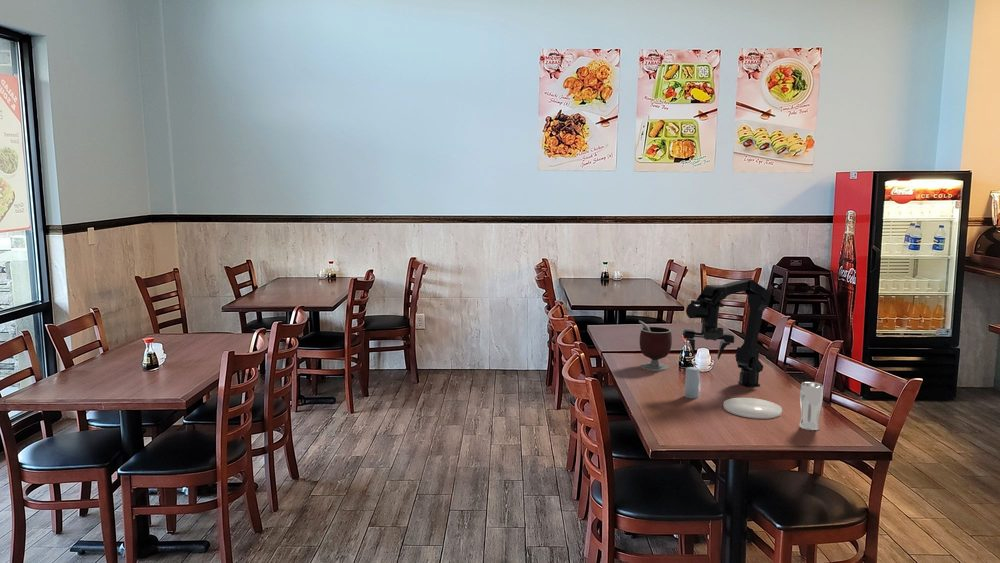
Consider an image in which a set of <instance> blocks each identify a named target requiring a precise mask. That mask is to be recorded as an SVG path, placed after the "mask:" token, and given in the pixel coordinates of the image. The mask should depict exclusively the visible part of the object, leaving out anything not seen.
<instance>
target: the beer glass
mask: <svg viewBox="0 0 1000 563" xmlns="http://www.w3.org/2000/svg"><path fill="white" fill-rule="evenodd" d="M823 398H824V385H823V384H822V383H819V382H815V381H803V382H801V386H800V392H799V404H800V406H799V407H800V414H801V416H800V417H801V418H800V421H799V426H798V427H799V428H800V427H801V428H800V429H802V430H806V431H810V430H812V431H813V430H816V431H818V430H819V429H820V425H819V417H820V412H821V409H822V405H823Z"/></svg>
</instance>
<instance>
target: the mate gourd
mask: <svg viewBox="0 0 1000 563" xmlns="http://www.w3.org/2000/svg"><path fill="white" fill-rule="evenodd" d="M638 323H640V324H641V325H642V326H643V327H641V329H640V335H639V348H640V351H641V353H642V355H644V357H646V358H648V359H650V360H651V361H649V362H643V363H641V364H640V368H641V369H643V370H645V369H647V370H646V371H650V370H653V371H652V372H663V370H665V371H667V369H668V370H669V369H670V368H669V367H670V366H669V365H668V364H666V363H663V362H659V360H661V359H664V358H666V357H668V355H669V354H670V352H671V349H672V344H673V337H672V336H673V335H672V329H670V328H667V327H662V326H649V325H648V324H647V323H645V322H643V321H642V320H638Z"/></svg>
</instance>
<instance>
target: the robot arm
mask: <svg viewBox="0 0 1000 563" xmlns="http://www.w3.org/2000/svg"><path fill="white" fill-rule="evenodd" d="M741 292H744V294H745V295H746V296H747V304H748V307H749V314H748V318H747V323H746V324H747V325H746V328H745V334H744V338H743V339H744V340H743V344H742V345H741V346H740V347H739V346H738V347H737V348H736V352H735V361H736V364H737V368H738V369H740V372H739V380H737V381H738V383H739V384H741V385H743V386H744V387H760V386H761V384H760V383H759V379H760V373H761V372H763V369H764V365H763V363H762V362H761V361H760V360H759V359H760V356H759V355H760V353H759V350H758V347H757V345H758V340H759V334H760V329H761V324H762V319H763V314H764V311H765V310H766V309H767V308H768V306H769V304H770V302H771V298H772V293H771V292H770V291H769V290H768V289H766V288H765V287H764V286H762V285H760V284H759V283H757V282H756V280H754V279H751V278H742V279H740V280H735V281H733V282H728V283H725V284H724V283H723V284H707V285H705V286H704V288H703V290H702V291H701V292H700V294H699V296H698V297H697V298H696V299H695V300H694V299H693V300H691V301H690V303H689V304H687V307H686V308H685V313H686V315H687V317H688V318H689V319H702V321H701V328H700V332H696V331H695V329H688V328H685V329H683V331H682V337H683V339H686V340H687V341H689V343H690V347H691V352H692V356H693V357H694V358H695V354H696V353H695V352H696V345H695V344H696V340H695V338H700V339H701V338H702V339H704V340H706V341H709V340H710V341H714V342H715V341H718V340H720V341H719V346H718V352H717V360H720V359H721V356H722V354H723V351H724V350H725V349H726V347H727V346H729V345H731V344H734V343H735V336H734V335H733V334H732V333H728V332H727V333H726V332H724V327H718V323H719V322H718V321H719V315H720V314H719V313H720V308H724V307H725V306H724V304H723V303H722V301H724V300H725V299H727V297H729V296H731V295H734V294H738V293H741Z"/></svg>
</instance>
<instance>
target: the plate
mask: <svg viewBox="0 0 1000 563" xmlns="http://www.w3.org/2000/svg"><path fill="white" fill-rule="evenodd" d="M722 407H723V409H724V410H725V411H726V412H728V413H730V414H733V415H736V416H740V417H743V418H748V419H757V420H758V419H761V420H762V419H763V420H764V419H765V420H767V419H769V420H770V419H774V418H778V417H780V416H782V414H783V408H782V406H781V405H779V404H777V403H775V402H772V401H769V400H765V399H761V398H754V397H733V398H729V399H726V400H724V401H723V406H722Z"/></svg>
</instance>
